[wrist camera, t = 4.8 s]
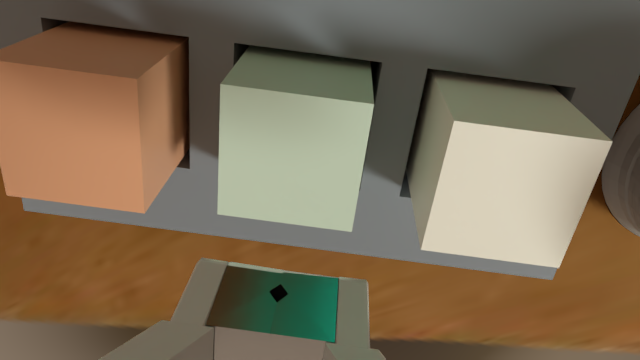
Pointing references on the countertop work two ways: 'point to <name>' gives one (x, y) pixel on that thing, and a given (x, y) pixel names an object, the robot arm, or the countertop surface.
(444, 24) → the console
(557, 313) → the countertop surface
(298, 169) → the key mid
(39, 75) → the key
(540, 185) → the key
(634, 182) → the grey black ceramic vase
